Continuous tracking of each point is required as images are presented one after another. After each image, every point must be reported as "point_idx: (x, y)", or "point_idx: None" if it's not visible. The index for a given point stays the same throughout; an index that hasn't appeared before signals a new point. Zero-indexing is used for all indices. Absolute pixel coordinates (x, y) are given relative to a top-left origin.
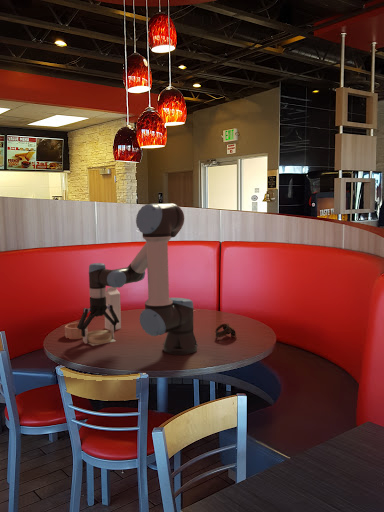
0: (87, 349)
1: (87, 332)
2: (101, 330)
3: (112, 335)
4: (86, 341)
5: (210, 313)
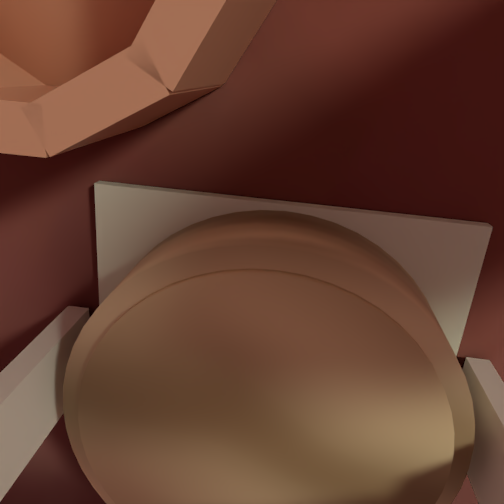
0: (35, 495)
1: (257, 14)
2: (372, 368)
3: None
4: None
5: None
